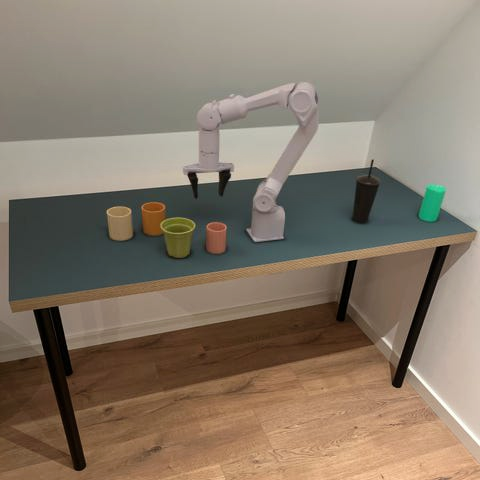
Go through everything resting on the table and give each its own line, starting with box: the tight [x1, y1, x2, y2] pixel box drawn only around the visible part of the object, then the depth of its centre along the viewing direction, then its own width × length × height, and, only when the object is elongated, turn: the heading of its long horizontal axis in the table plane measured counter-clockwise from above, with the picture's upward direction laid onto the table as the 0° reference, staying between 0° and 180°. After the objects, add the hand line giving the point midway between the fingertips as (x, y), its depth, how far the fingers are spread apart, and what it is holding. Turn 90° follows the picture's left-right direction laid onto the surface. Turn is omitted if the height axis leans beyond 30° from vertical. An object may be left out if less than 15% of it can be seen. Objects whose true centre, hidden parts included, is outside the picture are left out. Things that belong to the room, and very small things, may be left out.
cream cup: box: [106, 206, 134, 242], centre depth 148 cm, size 7×7×8 cm
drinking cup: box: [351, 158, 382, 224], centre depth 161 cm, size 8×8×20 cm
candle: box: [418, 183, 447, 222], centre depth 168 cm, size 6×6×12 cm
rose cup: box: [205, 221, 228, 255], centre depth 145 cm, size 6×6×7 cm
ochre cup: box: [140, 201, 167, 237], centre depth 151 cm, size 7×7×8 cm
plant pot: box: [160, 217, 196, 259], centre depth 141 cm, size 9×9×9 cm
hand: (208, 196), depth 150 cm, fingers open, 7 cm apart
